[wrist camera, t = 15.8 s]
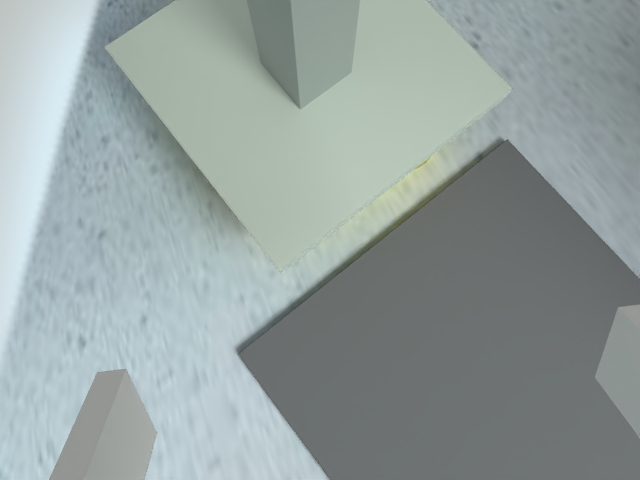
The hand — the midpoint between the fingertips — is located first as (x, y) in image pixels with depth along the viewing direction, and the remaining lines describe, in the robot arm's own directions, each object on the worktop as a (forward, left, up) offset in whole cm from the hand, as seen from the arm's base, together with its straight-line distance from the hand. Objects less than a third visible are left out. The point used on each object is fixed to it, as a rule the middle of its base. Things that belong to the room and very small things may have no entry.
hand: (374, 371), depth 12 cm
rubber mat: (-6, +8, -18) cm, 20 cm away
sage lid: (-9, -15, -13) cm, 22 cm away
